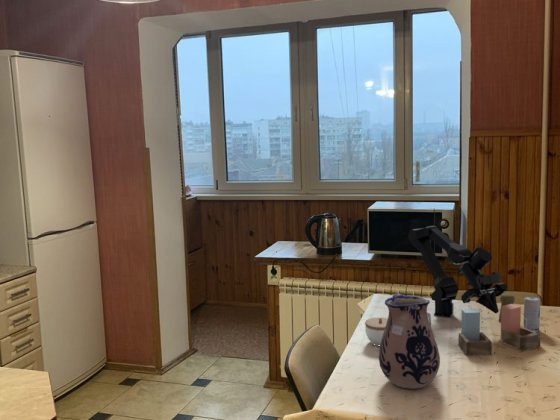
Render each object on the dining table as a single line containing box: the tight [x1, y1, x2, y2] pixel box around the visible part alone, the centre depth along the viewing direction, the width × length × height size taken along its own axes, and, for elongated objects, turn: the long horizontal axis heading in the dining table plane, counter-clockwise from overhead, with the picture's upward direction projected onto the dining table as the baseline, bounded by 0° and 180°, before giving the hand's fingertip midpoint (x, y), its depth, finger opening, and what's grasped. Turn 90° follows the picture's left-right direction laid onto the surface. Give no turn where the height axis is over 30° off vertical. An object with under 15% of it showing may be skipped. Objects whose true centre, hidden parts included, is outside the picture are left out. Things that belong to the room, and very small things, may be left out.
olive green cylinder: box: [498, 293, 516, 324], centre depth 212 cm, size 6×6×11 cm
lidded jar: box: [364, 317, 388, 346], centre depth 195 cm, size 11×11×9 cm
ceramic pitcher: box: [378, 292, 441, 390], centre depth 163 cm, size 18×21×25 cm
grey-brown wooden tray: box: [501, 325, 542, 352], centre depth 189 cm, size 9×8×4 cm
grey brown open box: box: [457, 331, 493, 357], centre depth 186 cm, size 9×8×4 cm
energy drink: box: [523, 296, 541, 332], centre depth 202 cm, size 5×5×12 cm
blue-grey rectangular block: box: [460, 308, 481, 341], centre depth 190 cm, size 4×5×12 cm
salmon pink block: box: [500, 303, 522, 340], centre depth 193 cm, size 4×5×12 cm
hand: (497, 312), depth 198 cm, fingers closed
